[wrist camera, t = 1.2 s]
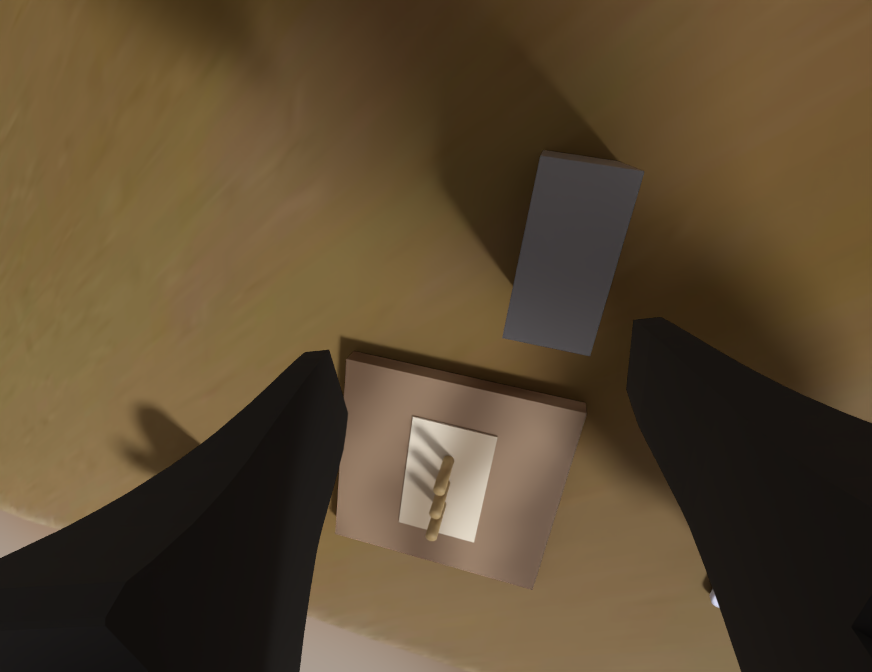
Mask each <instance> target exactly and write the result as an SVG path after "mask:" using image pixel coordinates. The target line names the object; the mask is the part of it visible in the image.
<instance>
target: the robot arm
mask: <svg viewBox="0 0 872 672" xmlns="http://www.w3.org/2000/svg"><path fill="white" fill-rule="evenodd" d="M626 390H627V393H628V396H629V399H630V402H631V405H632V408H633V411H634V414H635V417H636V420H637V422H638V425H639V427H640V429H641V432H642V434H643V436H644V438H645V440H646V442H647V444H648V445H649V447H650V449H651V451H652V453H653V455H654V457H655V459H656V461H657V463H658V465H659V467H660V469H661V471H662V473H663V475H664V477H665V479H666V481H667V483H668V484H669V486H670V488H671V490H672V492H673V494H674V496H675V498H676V500H677V502H678V504H679V506H680V508H681V510H682V512H683V514H684V516H685V519H686V521H687V523H688V525H689V527H690V530H691V533H692V535H693V538H694V540H695V543H696V545H697V548H698V551H699V553H700V556H701V558H702V561H703V564H704V566H705V569H706V571H707V574H708V577H709V580H710V583H711V585H712V588H713V589H712V591H711V593H710V598H711V601H712V604H713V605H714V606H716V607H719V608H720V610H721V613H722V616H723V619H724V622H725V625H726V628H727V631H728V634H729V637H730V640H731V642H732V645H733V648H734V651H735V654H736V657H737V660H738V663H739V666H740V669H741V672H872V423H870V422H867V421H864V420H862V419H859V418H857V417H854V416H851V415H849V414H846V413H844V412H841V411H839V410H837V409H834V408H832V407H830V406H827V405H825V404H823V403H820V402H818V401H816V400H813V399H811V398H809V397H806V396H804V395H802V394H800V393H798V392H796V391H793V390H791V389H789V388H787V387H785V386H783V385H781V384H779V383H777V382H775V381H773V380H771V379H769V378H767V377H765V376H763V375H761V374H760V373H758V372H756V371H754V370H752V369H750V368H748V367H746V366H745V365H743V364H741V363H739V362H737V361H736V360H734V359H732V358H730V357H729V356H727V355H725V354H723V353H722V352H720V351H718V350H717V349H715V348H713V347H711V346H710V345H708V344H706V343H705V342H703V341H701V340H700V339H698V338H696V337H695V336H693V335H691V334H690V333H688V332H686V331H685V330H683V329H681V328H680V327H678V326H676V325H675V324H673V323H671V322H669V321H667V320H665V319H664V318H662V317H657V318H647V319H637V320H633V329H632V338H631V348H630V358H629V368H628V377H627V387H626ZM347 420H348V411H347V407H346V404H345V401H344V397H343V394H342V391H341V387H340V384H339V381H338V378H337V374H336V371H335V368H334V364H333V361H332V358H331V354H330V351H329V350H322V351H312V352H305V353H303V354H302V355H301V356H300V357H299V358H297V359H296V360H295V361H294V362H293V363H292V364H291V365H290V366H289V367H288V368H287V369H286V370H285V371H284V372H283V373H281V374H280V375H279V376H278V377H277V378H276V379H275V380H274V381H273V382H272V383H271V384H270V385H269V386H268V387H267V388H266V389H265V390H264V391H262V392H261V393H260V394H259V395H258V396H257V397H256V398H255V399H254V400H253V401H252V402H251V403H250V404H248V405H247V406H246V407H245V408H244V409H243V410H241V411H240V412H239V413H238V414H237V415H236V416H235V417H233V418H232V419H231V420H230V421H229V422H228V423H226V424H225V425H224V426H223V427H222V428H221V429H219V430H218V431H217V432H216V433H214V434H213V435H212V436H211V437H209V438H208V439H207V440H206V441H204V442H203V443H202V444H200V445H199V446H198V447H196V448H195V449H194V450H192V451H191V452H189V453H188V454H187V455H185V456H184V457H182V458H181V459H180V460H178V461H177V462H175V463H174V464H172V465H171V466H170V467H168V468H166V469H165V470H163V471H162V472H160V473H159V474H157V475H155V476H154V477H152V478H151V479H149V480H147V481H146V482H144V483H143V484H141V485H140V486H138V487H136V488H135V489H133V490H132V491H130V492H129V493H127V494H125V495H123V496H122V497H120V498H118V499H116V500H115V501H113V502H111V503H109V504H108V505H106V506H104V507H102V508H101V509H99V510H97V511H95V512H93V513H91V514H89V515H88V516H86V517H84V518H82V519H80V520H78V521H76V522H74V523H73V524H71V525H69V526H67V527H65V528H63V529H61V530H59V531H57V532H55V533H53V534H51V535H48V536H46V537H44V538H42V539H40V540H38V541H36V542H34V543H31V544H29V545H27V546H25V547H23V548H21V549H19V550H17V551H15V552H12V553H10V554H8V555H6V556H4V557H2V558H0V672H299V671H300V663H301V654H302V646H303V638H304V630H305V624H306V617H307V610H308V603H309V596H310V589H311V583H312V577H313V571H314V565H315V559H316V553H317V548H318V544H319V539H320V535H321V531H322V527H323V523H324V520H325V516H326V513H327V509H328V505H329V502H330V498H331V495H332V491H333V487H334V484H335V480H336V477H337V473H338V469H339V465H340V462H341V458H342V454H343V450H344V444H345V437H346V429H347Z"/></svg>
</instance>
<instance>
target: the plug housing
mask: <svg viewBox="0 0 872 672" xmlns="http://www.w3.org/2000/svg"><path fill="white" fill-rule="evenodd" d="M643 175H644V171H642V170H640V169H637V168H635V167H632V166H630V165H627V164H625V163H622V162H619V161H614V160H608V159H601V158H594V157H588V156H581V155H574V154H568V153H561V152H554V151H548V150H543V152H542V153H541V155H540V160H539V164H538V169H537V174H536V179H535V184H534V188H533V193H532V198H531V203H530V208H529V212H528V217H527V222H526V227H525V232H524V236H523V241H522V246H521V251H520V256H519V261H518V265H517V270H516V275H515V280H514V285H513V289H512V294H511V299H510V304H509V309H508V313H507V318H506V323H505V328H504V333H503V338H505V339H510V340H515V341H519V342H524V343H529V344H534V345H539V346H543V347H548V348H553V349H558V350H562V351H567V352H572V353H577V354H581V355H586V356H590V355H591V351H592V348H593V344H594V341H595V338H596V334H597V331H598V327H599V324H600V321H601V317H602V314H603V310H604V307H605V304H606V300H607V297H608V294H609V290H610V287H611V283H612V280H613V277H614V273H615V270H616V266H617V263H618V260H619V256H620V253H621V249H622V246H623V243H624V239H625V236H626V232H627V229H628V226H629V222H630V219H631V216H632V212H633V209H634V205H635V202H636V199H637V195H638V192H639V188H640V185H641V182H642V178H643Z"/></svg>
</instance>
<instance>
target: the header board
mask: <svg viewBox="0 0 872 672" xmlns="http://www.w3.org/2000/svg"><path fill="white" fill-rule="evenodd" d="M344 401H345V404H346V407H347V411H348V420H347V429H346V437H345V444H344V450H343V454H342V458H341V462H340V469H339V484H338V500H337V516H336V532H335V534H338V535H341V536H345V537H348V538H352V539H355V540H359V541H362V542H366V543H369V544H373V545H376V546H380V547H383V548H387V549H390V550H394V551H397V552H401V553H405V554H408V555H412V556H415V557H419V558H422V559H426V560H429V561H433V562H436V563H440V564H443V565H447V566H450V567H454V568H457V569H461V570H464V571H468V572H471V573H475V574H478V575H482V576H485V577H489V578H492V579H496V580H499V581H503V582H507V583H510V584H514V585H517V586H521V587H524V588H528V589H531V590H533V587H534V583H535V580H536V577H537V574H538V571H539V567H540V564H541V561H542V558H543V554H544V551H545V548H546V545H547V541H548V538H549V535H550V532H551V528H552V525H553V522H554V519H555V515H556V512H557V509H558V506H559V503H560V499H561V496H562V493H563V490H564V486H565V483H566V480H567V477H568V473H569V470H570V467H571V464H572V460H573V457H574V454H575V451H576V447H577V444H578V441H579V438H580V435H581V431H582V428H583V425H584V422H585V418H586V415H587V410H586V403H584V402H579V401H575V400H570V399H566V398H561V397H557V396H553V395H548V394H544V393H539V392H535V391H530V390H526V389H521V388H517V387H512V386H508V385H503V384H499V383H495V382H490V381H486V380H481V379H477V378H472V377H468V376H463V375H459V374H454V373H450V372H445V371H441V370H436V369H432V368H428V367H423V366H419V365H414V364H410V363H405V362H401V361H396V360H392V359H387V358H383V357H378V356H374V355H369V354H365V353H361V352H356V351H353V352H352V353H351V355H350V356H349V357H348V358H347V359H346V374H345V389H344Z"/></svg>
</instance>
